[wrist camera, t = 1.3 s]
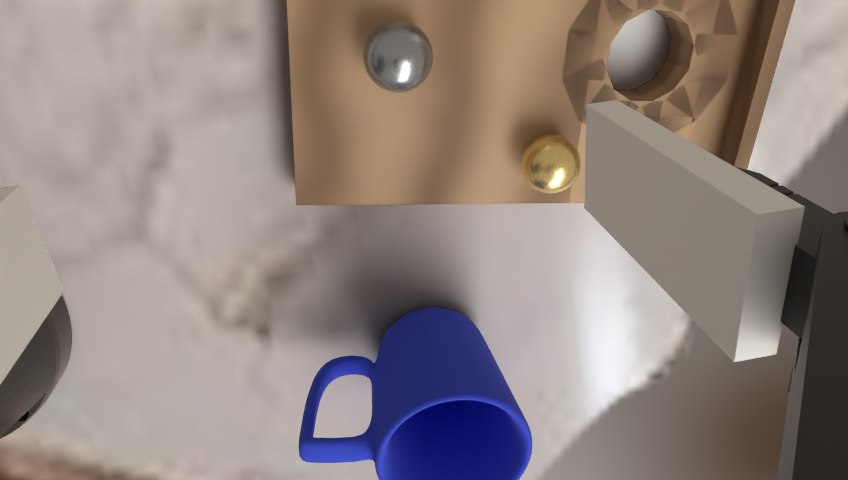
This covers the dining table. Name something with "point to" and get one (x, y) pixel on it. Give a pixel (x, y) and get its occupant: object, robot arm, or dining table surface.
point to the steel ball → (398, 56)
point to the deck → (510, 91)
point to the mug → (428, 406)
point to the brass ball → (551, 163)
